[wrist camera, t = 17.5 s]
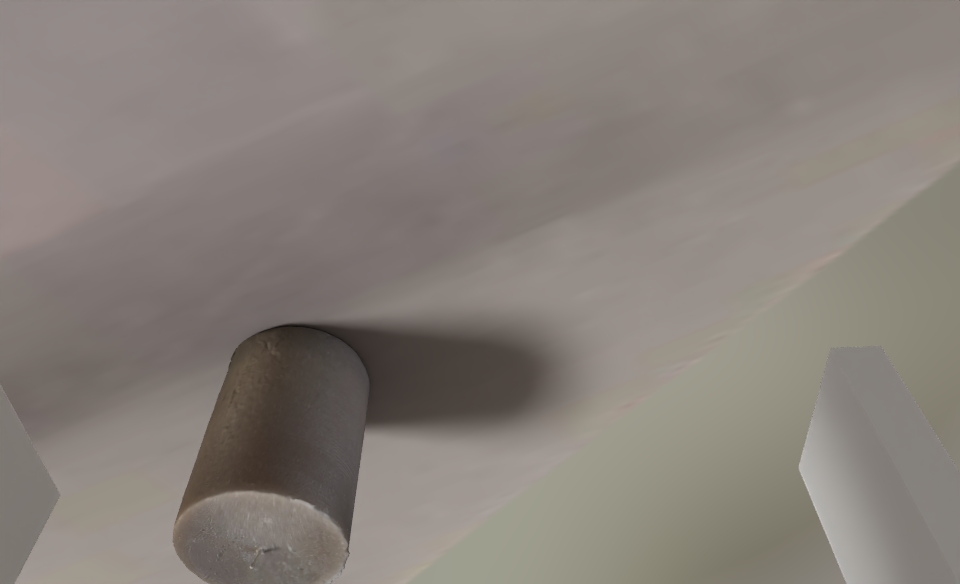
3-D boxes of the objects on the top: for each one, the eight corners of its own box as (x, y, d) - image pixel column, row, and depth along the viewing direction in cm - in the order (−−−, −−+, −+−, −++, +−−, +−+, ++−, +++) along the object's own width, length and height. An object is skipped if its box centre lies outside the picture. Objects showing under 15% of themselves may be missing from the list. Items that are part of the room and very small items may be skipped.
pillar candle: (209, 397, 56) (139, 589, 44) (261, 301, 51) (198, 489, 39) (336, 445, 59) (303, 637, 48) (397, 359, 55) (378, 549, 43)
